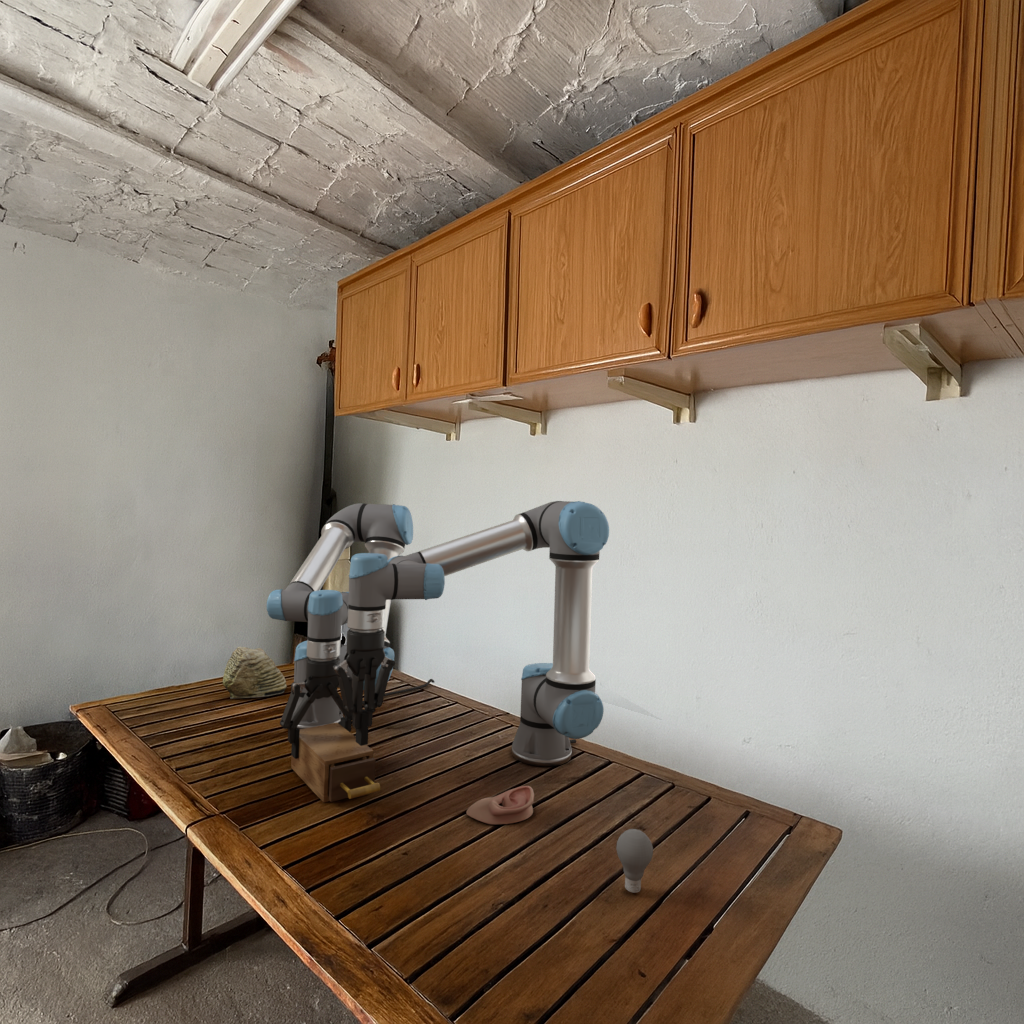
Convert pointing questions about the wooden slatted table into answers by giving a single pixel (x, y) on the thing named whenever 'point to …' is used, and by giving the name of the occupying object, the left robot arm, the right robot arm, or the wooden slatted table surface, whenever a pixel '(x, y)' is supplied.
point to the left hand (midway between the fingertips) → (319, 751)
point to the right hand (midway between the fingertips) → (361, 742)
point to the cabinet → (325, 754)
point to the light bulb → (634, 857)
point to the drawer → (352, 779)
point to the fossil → (252, 674)
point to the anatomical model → (504, 807)
